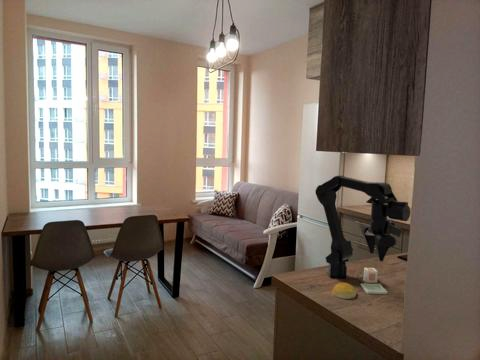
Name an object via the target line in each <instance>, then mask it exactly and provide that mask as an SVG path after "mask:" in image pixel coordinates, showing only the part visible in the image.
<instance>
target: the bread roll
mask: <svg viewBox="0 0 480 360" xmlns="http://www.w3.org/2000/svg"><path fill="white" fill-rule="evenodd" d="M331 294H332V295H333V296H334V297H337V298H340V299H344V300H345V299H348V300H349V299H354V298H356V295H357V291H356V289H355V287H354V286H353V285H352V284H350V283H347V282H338V283H337V284H335V285H334V287H333V288H332V290H331Z"/></svg>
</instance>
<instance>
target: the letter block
mask: <svg viewBox="0 0 480 360" xmlns="http://www.w3.org/2000/svg"><path fill="white" fill-rule="evenodd" d="M378 274H379V273H378V270H377V269H376V268H374V267H363V276H364V277H363V280H364V281H365V282H367V283H377V278H378Z"/></svg>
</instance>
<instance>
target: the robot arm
mask: <svg viewBox="0 0 480 360" xmlns="http://www.w3.org/2000/svg"><path fill="white" fill-rule="evenodd" d="M342 187H343V188H346V189H350V190H353V191H359V192H362V193H364V194H365V195H367V196H368V197H369V199H368V200H366V201H365V202H366V204H370V205H371V212H370V217H368V221H369V222H370V223H369V224H370V225H362V226H361V229H360V231H361V234H362V237H363V239H364V241H365V243H366V246H367V249H368V252H369V253H370V255H371V254H374V252H375V248H376V253H377V257H378V261H379V262H383V261H384V259H385V257H386V254H387V252H388V251H389V249H391V248H393V247H394V246H397V239H396V237H397V238H400V237H401V235H402V233H403V229H402V228H400V227H398V226H396V224H395V222H393V221H391V220H394V221H395V220H396V221H401V222H404V223H405V222H408V220H409V219H410V217H411V212H412V211H411V208H410V206H409V202H408V201H399V200H398V198H397V197H396V196H395V194H394V191H393V190H392V187H391V185H390V184H389V183H388V182H375V181H374V182H372V181H366V180H365V181H364V180H361V179H356V178H352V177H348V176H345V175H340V174H339V175H335V176H333V177H332V178H331V179H329V180H328V181H325V182H323V183H322V184H319V185H317V187H316V188H315V190H314V191H315V196H316V198H317V200H318V202H319V203H320V204H321V205H322V206H323V210H324V214H325V218H326V221H327V226H328V228H329V229H328V230H329V234H330V237H331V244H330V252H331V253H329V254H328V255H327V256H326V257H325V261H326V264H328V272H326V274H327V275H328V277H329V279H332V280H333V279H335V280H337V279H338V280H339V279H340V280H346V279H347V272H348V267H347V265H346V264H347V263H348V262H349V260H350V258H351V257H352V256H353V251H354V248H353V246H352V241H351V240H347V239H346V237H345V236H344V233H343V228H342V224H341V221H340V217H339V213H338V209H337V206H336V202H337V192H339V191H340V189H342ZM388 218H389V219H390V220H388ZM391 234H392V235H391ZM394 236H396V237H394Z"/></svg>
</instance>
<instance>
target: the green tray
mask: <svg viewBox="0 0 480 360" xmlns="http://www.w3.org/2000/svg"><path fill="white" fill-rule="evenodd" d="M360 287H361V289H362V290H364V292H365V293H366V294H374V295H377V294H378V295H379V294H380V295H388V291H387V290H386V288H384V287H383V286H381V285H380V284H363V283H362V282H360Z"/></svg>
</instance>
